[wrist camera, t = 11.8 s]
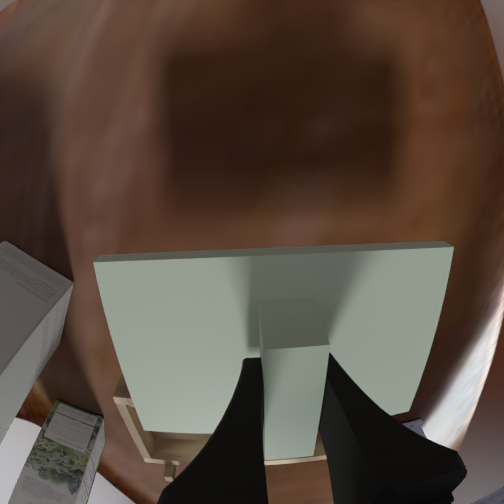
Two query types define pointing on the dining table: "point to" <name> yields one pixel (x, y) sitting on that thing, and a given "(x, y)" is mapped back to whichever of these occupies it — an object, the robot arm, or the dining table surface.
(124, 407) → the tan wooden frame
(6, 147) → the dining table surface
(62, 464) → the syrup box
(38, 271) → the supplement box
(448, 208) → the dining table surface
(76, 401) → the dining table surface
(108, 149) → the dining table surface
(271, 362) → the lid
